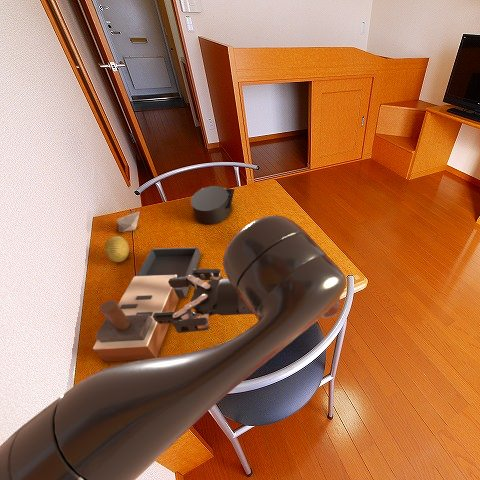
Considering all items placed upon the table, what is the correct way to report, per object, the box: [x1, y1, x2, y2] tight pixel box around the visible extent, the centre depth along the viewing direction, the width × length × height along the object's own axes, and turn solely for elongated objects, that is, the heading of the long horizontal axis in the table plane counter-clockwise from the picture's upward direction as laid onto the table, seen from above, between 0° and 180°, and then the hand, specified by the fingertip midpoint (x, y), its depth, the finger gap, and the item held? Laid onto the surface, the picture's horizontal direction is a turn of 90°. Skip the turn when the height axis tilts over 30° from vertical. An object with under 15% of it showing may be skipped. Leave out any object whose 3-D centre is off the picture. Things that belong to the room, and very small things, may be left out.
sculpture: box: [104, 235, 130, 263], centre depth 84 cm, size 8×4×8 cm, turn 8°
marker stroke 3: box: [136, 312, 153, 316], centre depth 65 cm, size 1×4×1 cm, turn 95°
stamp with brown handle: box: [94, 299, 153, 342], centre depth 59 cm, size 5×9×9 cm, turn 95°
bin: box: [135, 246, 202, 299], centre depth 81 cm, size 17×14×3 cm
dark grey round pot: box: [190, 185, 236, 226], centre depth 106 cm, size 14×18×8 cm
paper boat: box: [116, 209, 140, 233], centre depth 97 cm, size 12×6×9 cm
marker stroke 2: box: [136, 295, 152, 300], centre depth 69 cm, size 1×4×1 cm, turn 95°
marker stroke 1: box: [120, 304, 138, 309], centre depth 66 cm, size 1×4×1 cm, turn 95°
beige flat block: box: [92, 275, 180, 362], centre depth 68 cm, size 20×11×6 cm, turn 5°
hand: (162, 299), depth 56 cm, fingers open, 8 cm apart
